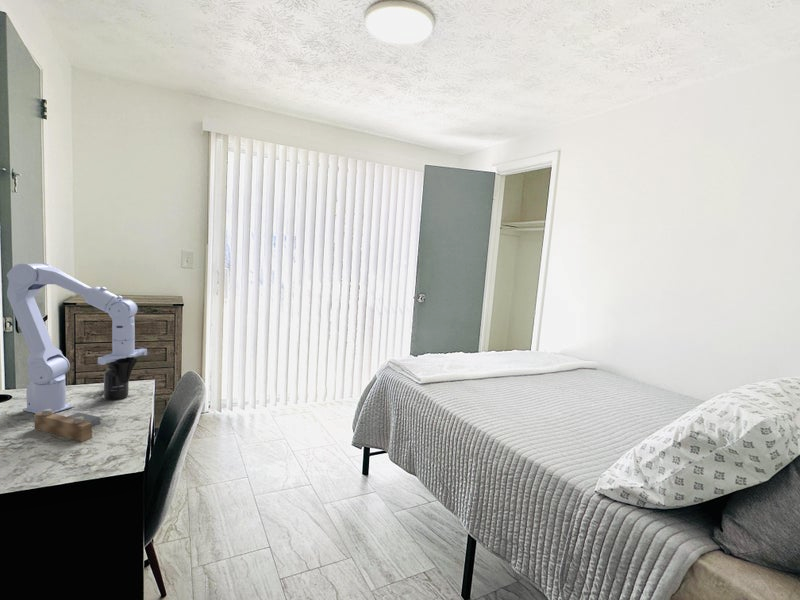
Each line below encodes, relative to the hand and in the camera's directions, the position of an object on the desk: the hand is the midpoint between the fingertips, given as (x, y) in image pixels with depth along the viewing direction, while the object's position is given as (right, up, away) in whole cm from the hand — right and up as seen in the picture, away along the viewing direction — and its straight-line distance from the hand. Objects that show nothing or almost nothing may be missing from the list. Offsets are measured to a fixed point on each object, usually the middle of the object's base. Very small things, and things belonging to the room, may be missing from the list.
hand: (123, 382), depth 126 cm
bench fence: (-4, -10, -18) cm, 21 cm away
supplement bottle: (-9, -7, +10) cm, 15 cm away
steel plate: (-4, -10, -13) cm, 17 cm away
